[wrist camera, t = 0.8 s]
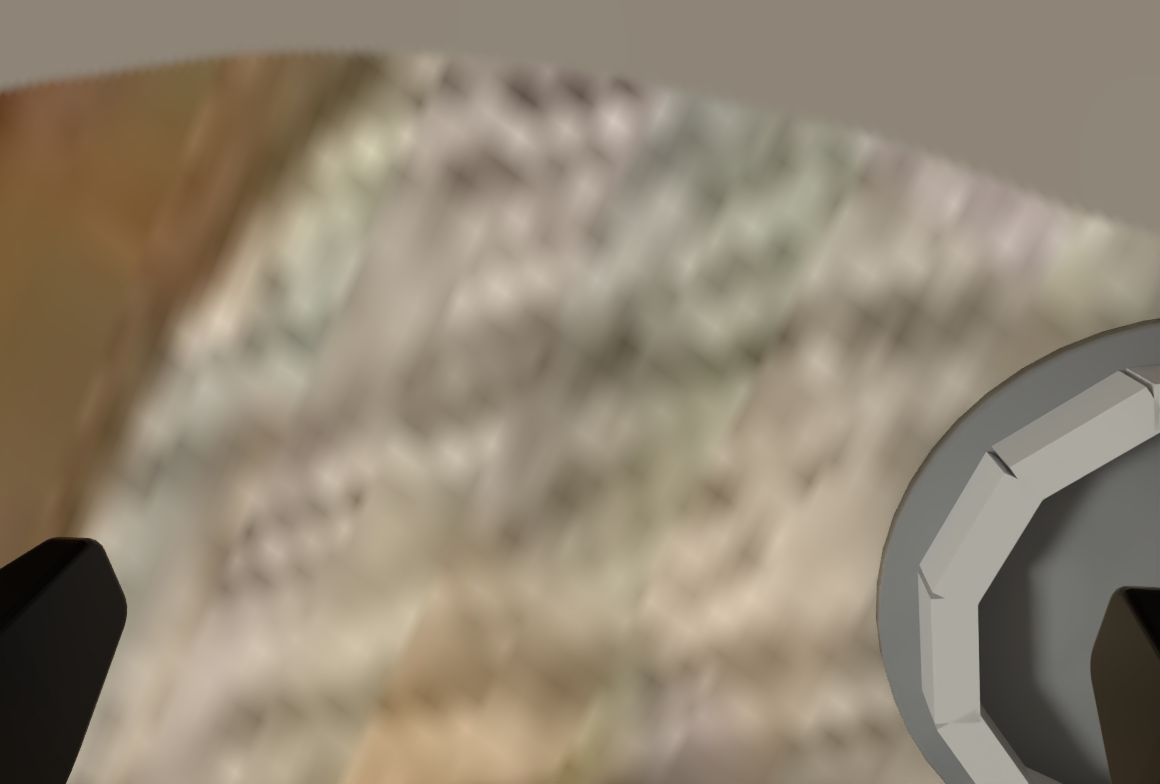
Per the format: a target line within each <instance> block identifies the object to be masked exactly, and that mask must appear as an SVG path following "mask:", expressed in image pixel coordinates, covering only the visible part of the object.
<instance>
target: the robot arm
mask: <svg viewBox="0 0 1160 784" xmlns="http://www.w3.org/2000/svg"><path fill="white" fill-rule="evenodd" d="M126 617H127V603H126V598H125V595H124V593H123V590H122V588H121V586H120V584H119V581H118V579H117V577H116V575H115V572H114V570H113V568H112V565H111V563H110V561H109V559H108V556H107V554H106V552H105V550H104V548H103V546H102V545H101V544H100V543H98V542H97V541H96V540H94V539H91V538H73V537H55V538H51V539H48V540H46V541H44V542H43V543H41V544H39V545H38V546H36V547H35V548H33V549H31V550H30V551H28V552H27V553H25V554H23V555H22V556H20V557H18V558H17V559H15V560H14V561H12V562H10V563H9V564H7V565H6V566H4V567H2V568H1V569H0V784H66V782H67V780H68V778H69V775H70V773H71V771H72V768H73V766H74V763H75V761H76V758H77V756H78V753H79V751H80V748H81V745H82V743H83V740H84V737H85V734H86V732H87V729H88V726H89V723H90V720H91V718H92V715H93V712H94V709H95V707H96V704H97V701H98V698H99V696H100V693H101V690H102V687H103V684H104V682H105V679H106V676H107V673H108V671H109V668H110V665H111V662H112V660H113V657H114V654H115V651H116V648H117V646H118V643H119V640H120V637H121V635H122V632H123V629H124V626H125V622H126ZM1090 675H1091V682H1092V687H1093V692H1094V697H1095V702H1096V708H1097V713H1098V718H1099V723H1100V728H1101V733H1102V738H1103V743H1104V749H1105V754H1106V759H1107V764H1108V769H1109V774H1110V779H1111V784H1160V587H1143V586H1122V587H1119V588H1117V589H1116V590H1115V591H1114V592H1113V594H1112V596H1111V598H1110V600H1109V603H1108V606H1107V608H1106V611H1105V614H1104V617H1103V620H1102V623H1101V625H1100V628H1099V631H1098V634H1097V637H1096V640H1095V642H1094V645H1093V648H1092V652H1091V658H1090Z"/></svg>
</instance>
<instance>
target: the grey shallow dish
mask: <svg viewBox="0 0 1160 784" xmlns="http://www.w3.org/2000/svg"><path fill="white" fill-rule="evenodd" d="M1122 586H1143V587H1160V319H1155V320H1148V321H1142V322H1138V323H1135V324H1131V325H1127V326H1123V327H1119V328H1116V329H1112V330H1108V331H1104V332H1101V333H1098V334H1095V335H1093V336H1090V337H1088V338H1085V339H1083V340H1080V341H1078V342H1075V343H1072V344H1070V345H1067V346H1065V347H1062V348H1060V349H1058V350H1056V351H1054V352H1052V353H1050V354H1049V355H1047V356H1045V357H1043V358H1041V359H1039V360H1037V361H1035V362H1034V363H1032V364H1030V365H1028V366H1026V367H1024V368H1022V369H1021V370H1019V371H1018V372H1017V373H1015V374H1014V375H1012V376H1011V377H1009V378H1008V379H1006V380H1005V381H1004V382H1002V383H1001V384H999V385H998V386H996V387H995V388H994V389H992V390H991V391H989V392H988V393H987V394H986V395H984V396H983V397H982V398H981V399H980V400H979V401H978V402H977V403H976V404H974V405H973V406H972V407H971V408H970V409H969V410H968V411H967V412H965V413H964V414H963V415H962V416H961V417H960V418H959V419H958V420H957V421H956V422H955V423H954V424H953V425H952V427H951V428H950V429H949V430H948V431H947V432H946V433H945V435H944V436H943V437H942V438H941V439H940V440H939V441H938V443H937V444H936V445H935V446H934V447H933V448H932V450H931V451H930V453H929V454H928V456H927V457H926V459H925V460H924V462H923V463H922V465H921V466H920V468H919V469H918V471H917V472H916V474H915V475H914V477H913V478H912V480H911V481H910V483H909V485H908V487H907V489H906V491H905V493H904V495H903V497H902V500H901V502H900V504H899V506H898V508H897V510H896V512H895V514H894V517H893V520H892V523H891V526H890V529H889V532H888V535H887V538H886V541H885V544H884V547H883V552H882V557H881V563H880V569H879V575H878V580H877V602H876V621H877V629H878V637H879V645H880V652H881V656H882V659H883V663H884V667H885V670H886V674H887V678H888V681H889V685H890V688H891V691H892V694H893V697H894V700H895V703H896V705H897V707H898V709H899V712H900V714H901V716H902V719H903V721H904V723H905V725H906V728H907V730H908V732H909V733H910V735H911V737H912V738H913V740H914V741H915V743H916V745H917V746H918V748H919V750H920V751H921V753H922V754H923V756H924V758H925V759H926V761H927V762H928V763H929V764H930V765H931V767H932V768H933V769H934V770H935V771H936V773H937V774H938V775H939V776H940V777H941V779H942V780H943V781H944V782H945V783H946V784H1111V779H1110V774H1109V769H1108V764H1107V759H1106V754H1105V749H1104V743H1103V738H1102V733H1101V728H1100V723H1099V718H1098V713H1097V708H1096V702H1095V697H1094V692H1093V687H1092V682H1091V675H1090V658H1091V652H1092V648H1093V645H1094V642H1095V640H1096V637H1097V634H1098V631H1099V628H1100V625H1101V623H1102V620H1103V617H1104V614H1105V611H1106V608H1107V606H1108V603H1109V600H1110V598H1111V596H1112V594H1113V592H1114V591H1115V590H1116V589H1117V588H1119V587H1122Z"/></svg>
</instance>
